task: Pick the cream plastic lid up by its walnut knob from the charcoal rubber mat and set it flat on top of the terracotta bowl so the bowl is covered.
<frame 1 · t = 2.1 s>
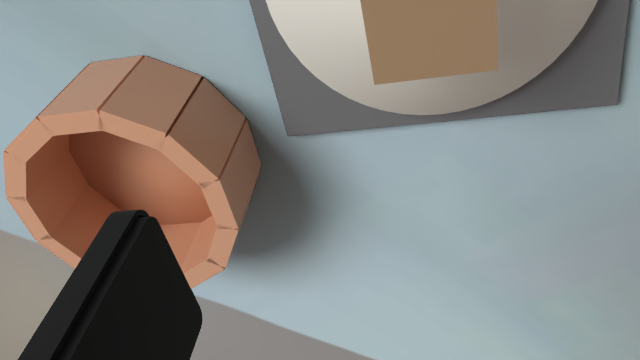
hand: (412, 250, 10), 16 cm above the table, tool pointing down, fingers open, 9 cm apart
bowl: (158, 151, 31), on the table
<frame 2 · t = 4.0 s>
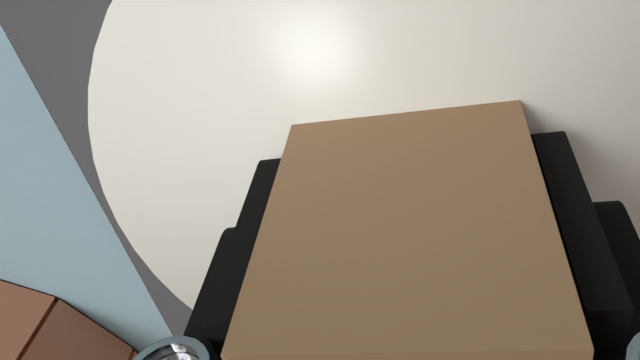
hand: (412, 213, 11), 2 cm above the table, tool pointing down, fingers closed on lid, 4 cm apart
mat: (412, 156, 12), on the table
lid: (412, 169, 12), point 1 cm above the table, touching gripper, mat
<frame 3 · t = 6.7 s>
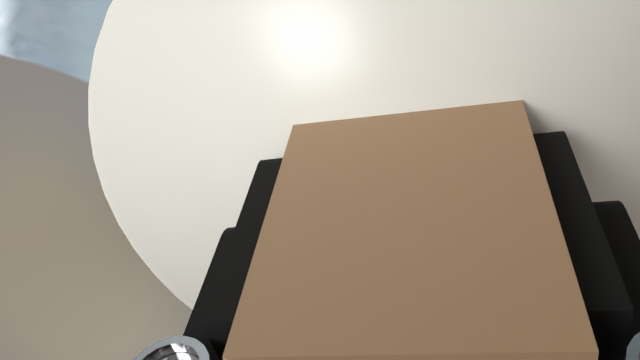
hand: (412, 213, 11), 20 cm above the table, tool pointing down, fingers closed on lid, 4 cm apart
lid: (414, 170, 12), point 19 cm above the table, touching gripper
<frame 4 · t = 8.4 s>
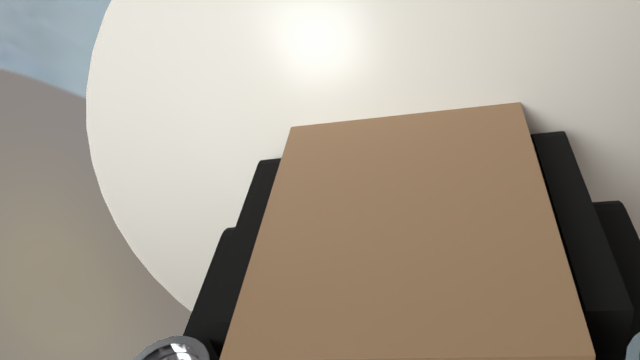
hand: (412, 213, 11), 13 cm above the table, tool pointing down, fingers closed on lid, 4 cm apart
lid: (412, 171, 12), point 12 cm above the table, touching gripper
when the fingers open (8 cm above the table, at t = 9.6 s): lid drops 1 cm, resting on bowl.
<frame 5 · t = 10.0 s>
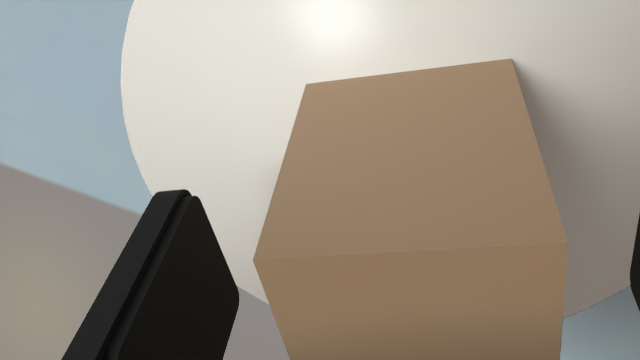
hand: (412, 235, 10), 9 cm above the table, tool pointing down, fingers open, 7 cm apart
lid: (414, 129, 13), point 5 cm above the table, touching bowl
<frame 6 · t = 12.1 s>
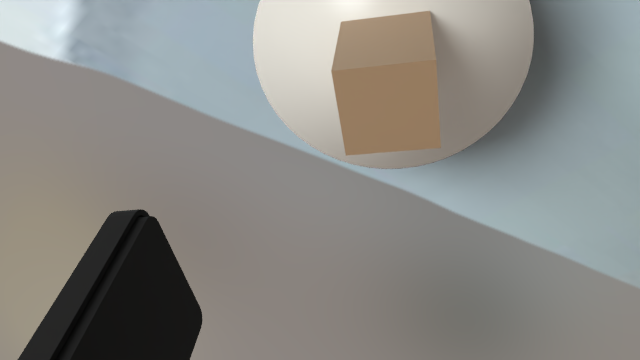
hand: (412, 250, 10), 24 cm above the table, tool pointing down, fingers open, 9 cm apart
lid: (389, 48, 28), point 5 cm above the table, touching bowl
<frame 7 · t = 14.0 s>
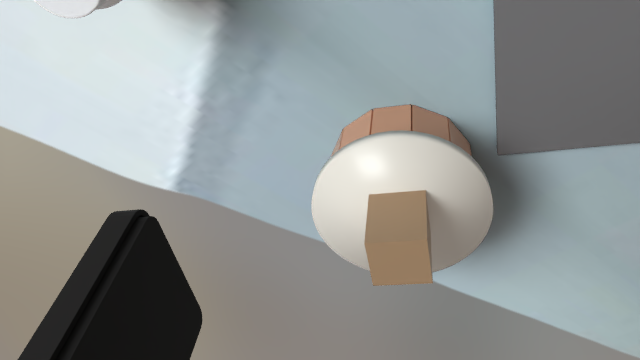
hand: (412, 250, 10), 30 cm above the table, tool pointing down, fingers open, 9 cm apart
mat: (611, 49, 38), on the table
lid: (400, 204, 42), point 5 cm above the table, touching bowl
bowl: (400, 165, 46), on the table
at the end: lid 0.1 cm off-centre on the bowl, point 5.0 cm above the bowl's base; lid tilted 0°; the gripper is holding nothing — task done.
